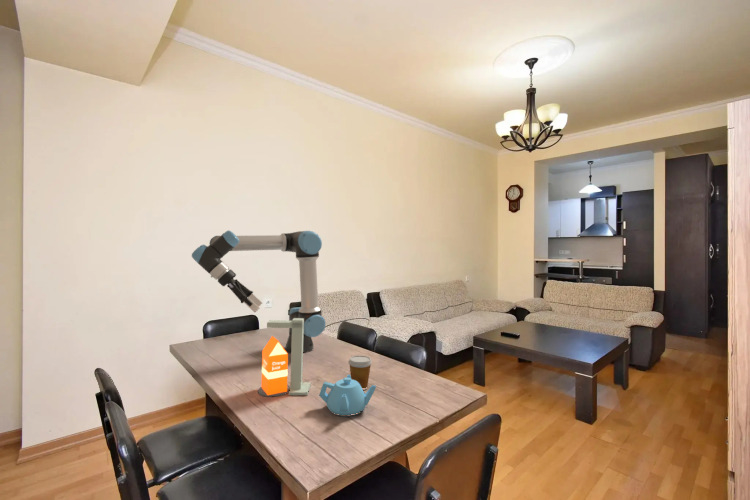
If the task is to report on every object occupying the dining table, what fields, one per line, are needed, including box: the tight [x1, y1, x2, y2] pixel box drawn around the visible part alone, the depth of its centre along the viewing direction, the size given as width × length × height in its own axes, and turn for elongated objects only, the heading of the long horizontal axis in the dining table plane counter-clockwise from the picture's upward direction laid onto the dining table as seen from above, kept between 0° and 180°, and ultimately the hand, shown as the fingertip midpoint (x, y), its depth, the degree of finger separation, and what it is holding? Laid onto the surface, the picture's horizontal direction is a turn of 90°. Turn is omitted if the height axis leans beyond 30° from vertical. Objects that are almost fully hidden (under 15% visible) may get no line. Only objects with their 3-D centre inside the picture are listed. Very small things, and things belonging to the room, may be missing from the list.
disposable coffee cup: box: [347, 354, 373, 388], centre depth 141 cm, size 10×10×12 cm
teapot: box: [318, 374, 377, 415], centre depth 123 cm, size 15×15×11 cm
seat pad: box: [257, 384, 290, 398], centre depth 136 cm, size 12×12×1 cm
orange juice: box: [260, 335, 289, 395], centre depth 136 cm, size 8×9×20 cm
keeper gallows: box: [266, 318, 311, 396], centre depth 137 cm, size 16×10×28 cm, turn 94°
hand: (258, 307), depth 157 cm, fingers open, 13 cm apart
